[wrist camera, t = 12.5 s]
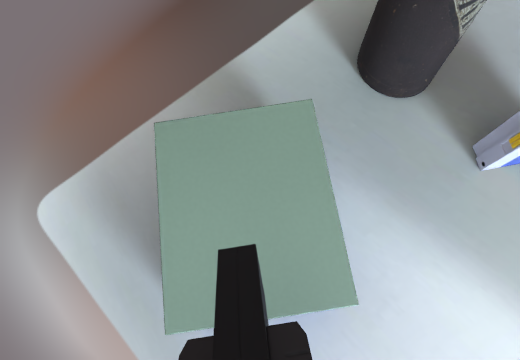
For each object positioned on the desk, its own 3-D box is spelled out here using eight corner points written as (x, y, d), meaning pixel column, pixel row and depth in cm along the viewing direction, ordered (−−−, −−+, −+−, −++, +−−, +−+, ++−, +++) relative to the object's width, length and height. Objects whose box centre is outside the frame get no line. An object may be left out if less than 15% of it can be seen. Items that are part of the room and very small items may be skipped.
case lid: (157, 127, 28) (153, 122, 27) (311, 104, 28) (312, 98, 27) (168, 334, 23) (164, 335, 22) (356, 304, 23) (358, 305, 22)
